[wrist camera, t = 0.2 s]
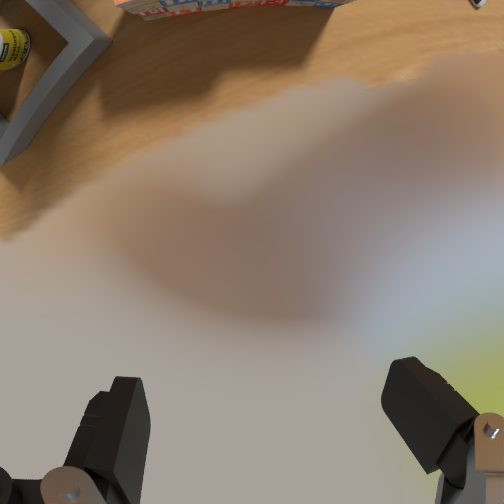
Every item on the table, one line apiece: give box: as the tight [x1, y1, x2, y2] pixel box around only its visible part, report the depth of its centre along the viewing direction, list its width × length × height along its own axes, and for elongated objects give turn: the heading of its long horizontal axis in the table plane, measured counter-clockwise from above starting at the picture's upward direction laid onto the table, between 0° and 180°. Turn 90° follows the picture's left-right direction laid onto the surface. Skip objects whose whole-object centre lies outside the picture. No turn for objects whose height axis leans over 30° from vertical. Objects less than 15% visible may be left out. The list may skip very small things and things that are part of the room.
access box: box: [0, 0, 113, 165], centre depth 20 cm, size 22×18×6 cm
